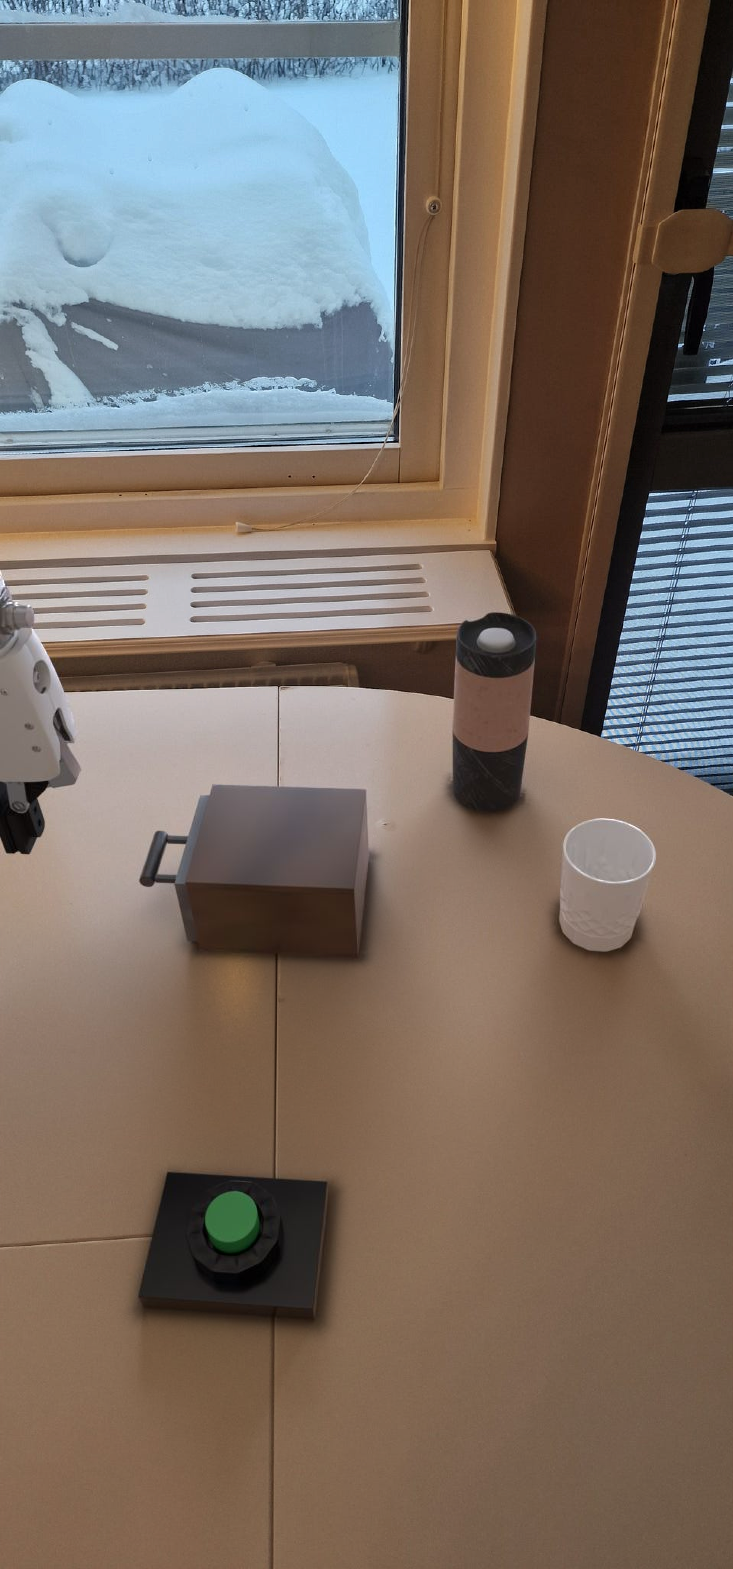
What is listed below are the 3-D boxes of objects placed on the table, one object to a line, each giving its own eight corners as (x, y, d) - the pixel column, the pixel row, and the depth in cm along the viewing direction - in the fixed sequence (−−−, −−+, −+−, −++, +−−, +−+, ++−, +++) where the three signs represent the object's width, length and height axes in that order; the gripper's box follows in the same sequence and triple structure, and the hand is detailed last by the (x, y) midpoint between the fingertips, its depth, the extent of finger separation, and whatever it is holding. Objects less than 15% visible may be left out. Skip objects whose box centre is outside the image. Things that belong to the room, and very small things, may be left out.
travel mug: (513, 822, 106) (528, 662, 93) (441, 807, 108) (446, 649, 95) (529, 775, 112) (545, 618, 98) (460, 762, 114) (467, 606, 100)
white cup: (631, 968, 92) (648, 892, 86) (544, 945, 94) (554, 870, 88) (645, 905, 98) (662, 829, 91) (562, 885, 100) (573, 810, 93)
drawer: (141, 939, 95) (125, 881, 90) (168, 850, 104) (155, 793, 99) (333, 947, 94) (328, 889, 89) (345, 857, 102) (341, 799, 97)
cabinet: (200, 953, 95) (184, 882, 89) (224, 854, 104) (212, 783, 98) (358, 960, 94) (354, 888, 87) (369, 859, 103) (366, 788, 97)
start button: (203, 1251, 71) (200, 1240, 70) (213, 1201, 74) (210, 1189, 73) (255, 1255, 71) (252, 1243, 70) (263, 1204, 73) (261, 1192, 72)
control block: (143, 1309, 72) (133, 1285, 69) (171, 1185, 78) (163, 1159, 76) (315, 1321, 71) (311, 1297, 68) (329, 1195, 78) (326, 1169, 75)
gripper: (87, 590, 64) (140, 807, 76) (-145, 587, 65) (-56, 801, 77) (50, 661, 58) (113, 883, 70) (-203, 656, 59) (-97, 874, 72)
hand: (25, 839), depth 74 cm, fingers closed
